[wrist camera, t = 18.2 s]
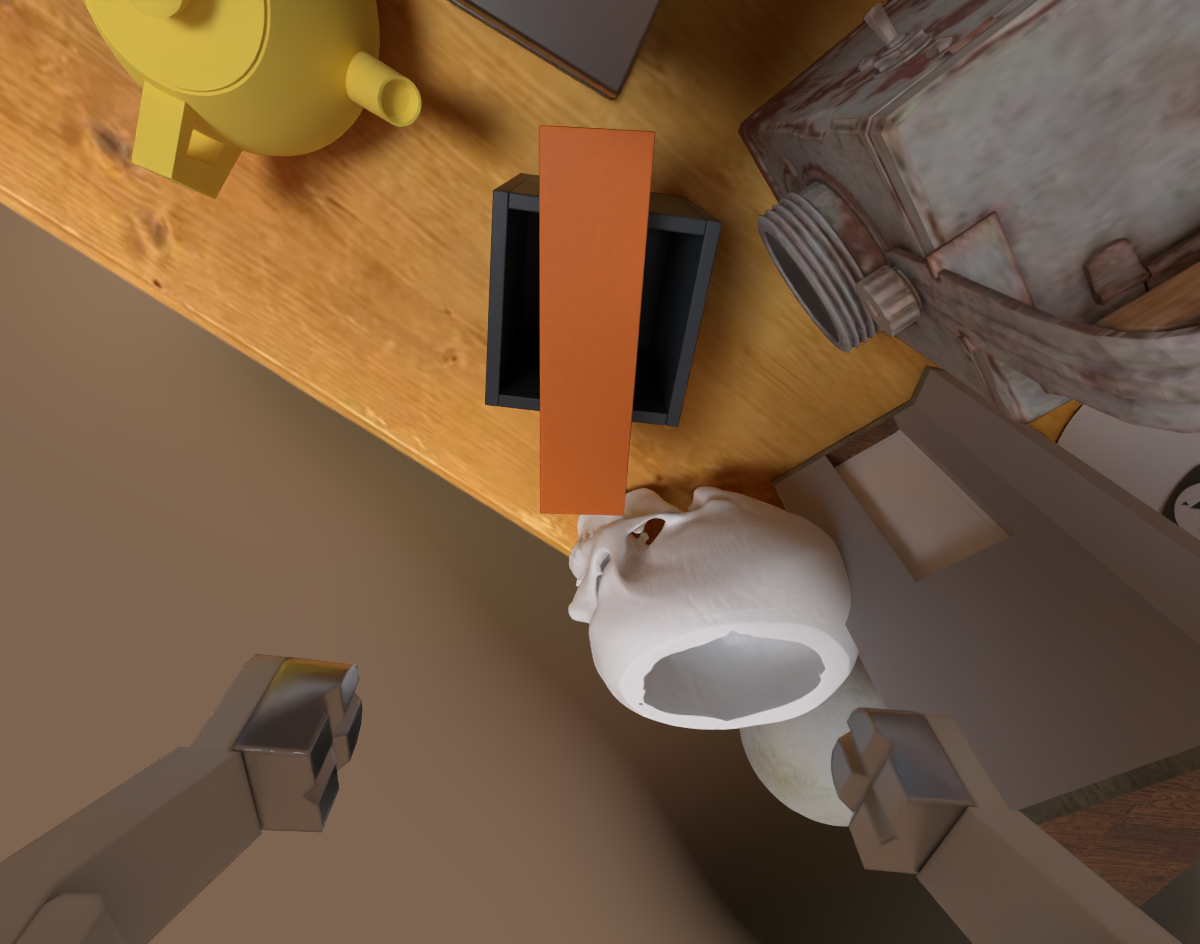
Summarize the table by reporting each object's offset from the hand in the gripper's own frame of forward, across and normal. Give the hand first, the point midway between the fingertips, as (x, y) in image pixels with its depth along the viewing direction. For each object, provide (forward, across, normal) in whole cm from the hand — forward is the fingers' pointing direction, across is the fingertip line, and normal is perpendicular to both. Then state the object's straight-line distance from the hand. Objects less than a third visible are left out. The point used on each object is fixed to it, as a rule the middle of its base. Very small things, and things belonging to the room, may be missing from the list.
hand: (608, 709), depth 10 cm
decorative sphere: (+29, -31, +34) cm, 55 cm away
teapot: (+34, +19, -11) cm, 41 cm away
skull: (+36, -7, +19) cm, 41 cm away
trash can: (+34, 0, 0) cm, 34 cm away
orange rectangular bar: (+22, 0, +1) cm, 23 cm away
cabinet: (+34, -20, +14) cm, 42 cm away
